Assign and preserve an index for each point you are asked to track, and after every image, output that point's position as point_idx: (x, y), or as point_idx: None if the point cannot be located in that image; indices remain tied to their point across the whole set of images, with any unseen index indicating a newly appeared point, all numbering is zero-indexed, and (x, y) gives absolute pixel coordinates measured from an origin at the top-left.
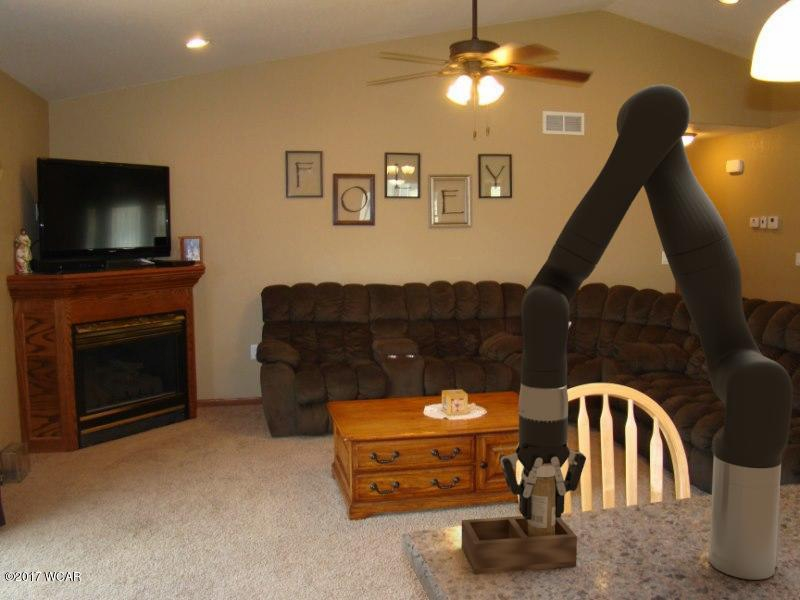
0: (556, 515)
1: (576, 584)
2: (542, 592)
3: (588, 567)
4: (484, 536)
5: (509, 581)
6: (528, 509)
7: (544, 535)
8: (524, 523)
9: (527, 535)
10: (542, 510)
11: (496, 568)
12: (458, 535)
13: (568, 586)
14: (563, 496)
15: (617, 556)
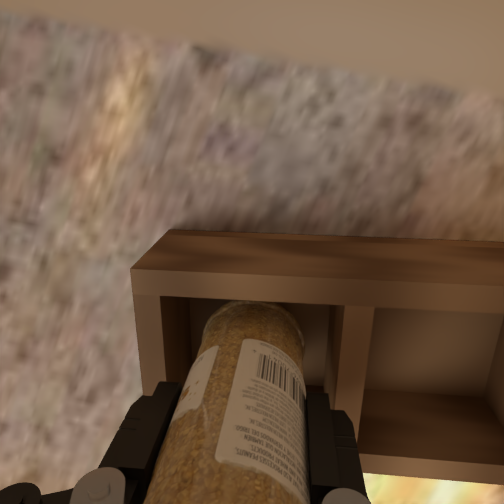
0: (178, 388)
1: (210, 113)
2: (351, 78)
3: (132, 215)
4: (437, 413)
5: (435, 175)
6: (324, 428)
7: (255, 322)
8: None
9: None
10: (256, 398)
11: (459, 244)
12: None
13: (243, 104)
14: (104, 467)
15: (22, 262)
